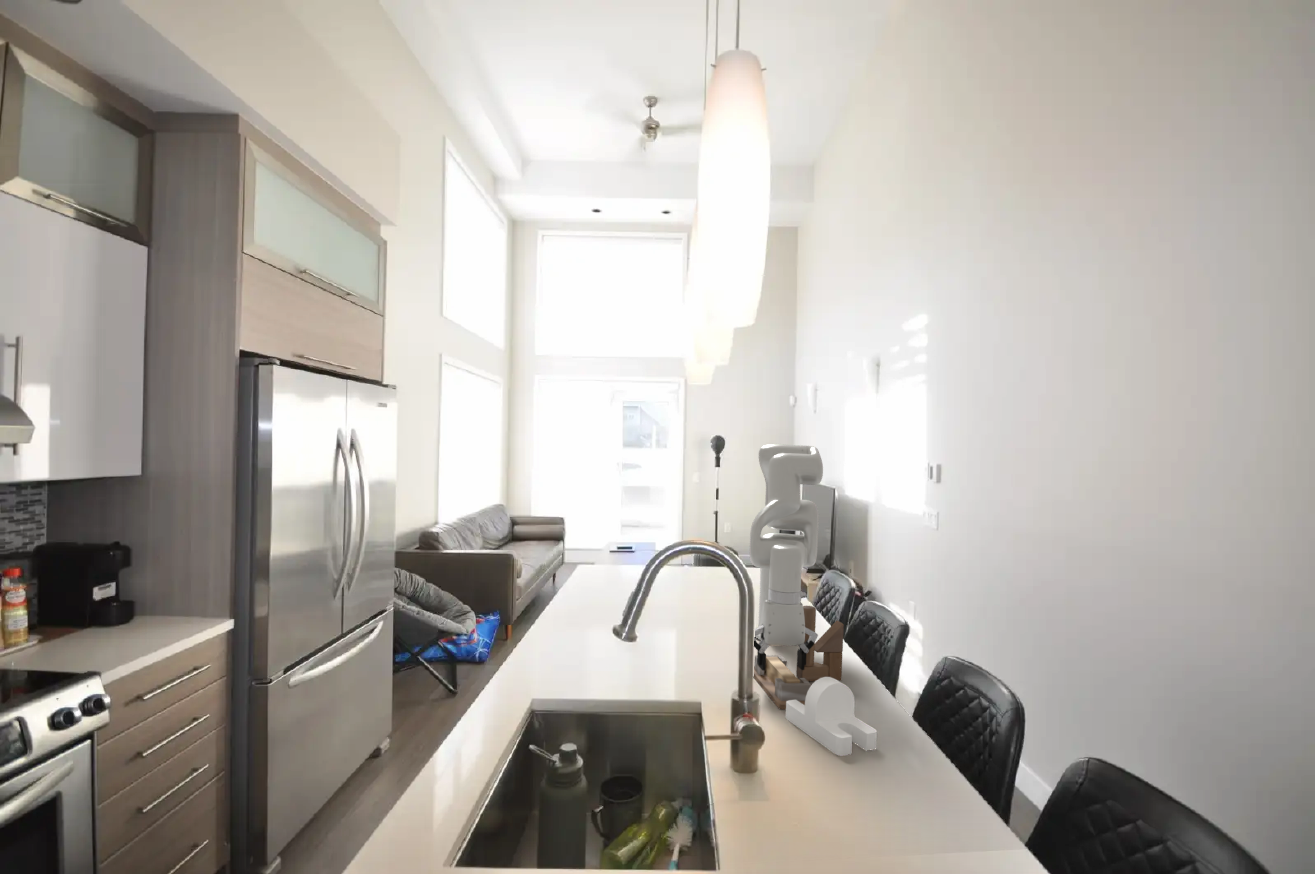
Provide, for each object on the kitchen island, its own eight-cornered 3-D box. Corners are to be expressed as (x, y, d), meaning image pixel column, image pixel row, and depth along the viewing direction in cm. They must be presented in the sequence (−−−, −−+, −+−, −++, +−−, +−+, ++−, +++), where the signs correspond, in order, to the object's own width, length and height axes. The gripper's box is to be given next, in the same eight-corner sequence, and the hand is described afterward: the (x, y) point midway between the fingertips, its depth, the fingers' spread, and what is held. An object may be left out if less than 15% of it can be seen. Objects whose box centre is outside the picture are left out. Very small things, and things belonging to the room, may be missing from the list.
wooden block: (841, 681, 156) (844, 608, 156) (801, 682, 153) (804, 609, 154) (834, 675, 159) (837, 605, 160) (795, 677, 157) (798, 605, 157)
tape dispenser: (838, 757, 116) (840, 699, 116) (783, 718, 133) (785, 667, 133) (878, 750, 120) (880, 694, 120) (820, 712, 136) (822, 663, 137)
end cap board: (747, 670, 160) (748, 652, 160) (781, 670, 161) (782, 652, 162) (779, 709, 136) (780, 688, 137) (818, 708, 138) (819, 688, 138)
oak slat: (764, 673, 156) (765, 656, 156) (776, 672, 156) (776, 656, 156) (786, 698, 140) (787, 680, 140) (799, 698, 141) (799, 680, 141)
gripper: (812, 593, 154) (809, 662, 154) (745, 592, 152) (742, 663, 152) (824, 601, 147) (821, 673, 147) (754, 600, 145) (751, 674, 144)
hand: (781, 668), depth 149 cm, fingers open, 9 cm apart
